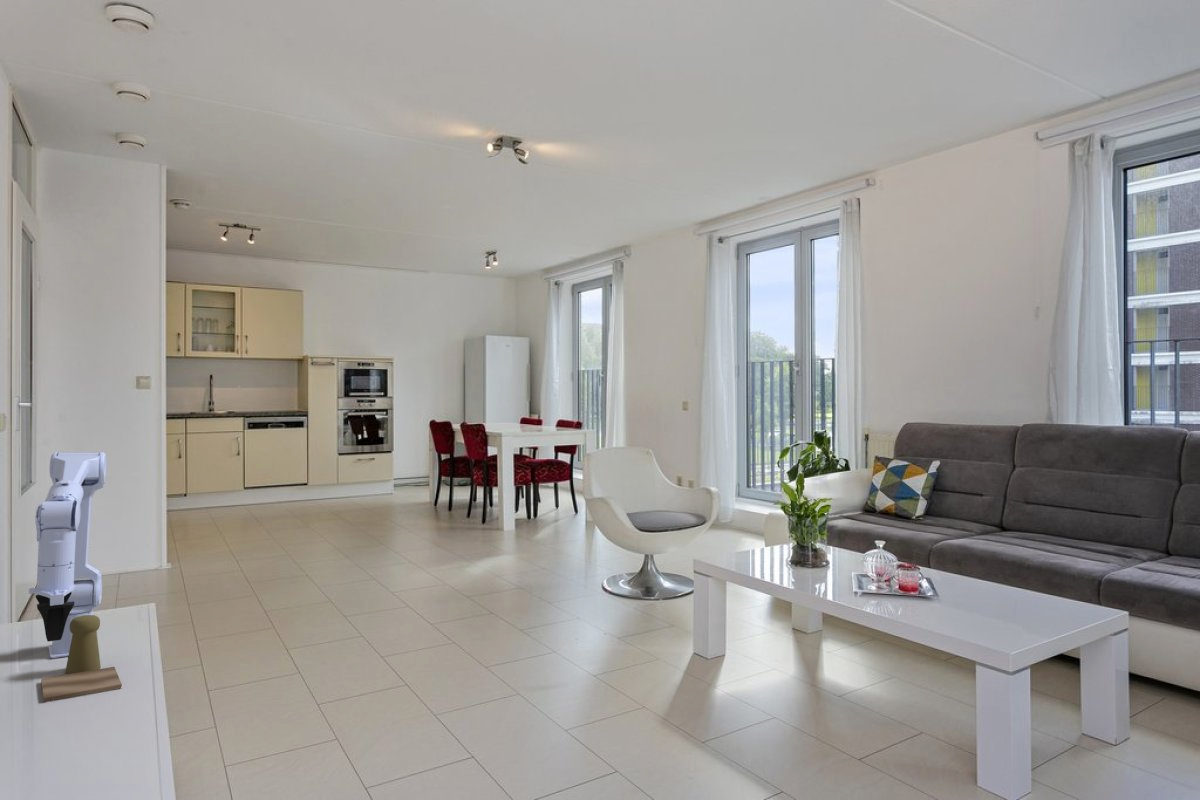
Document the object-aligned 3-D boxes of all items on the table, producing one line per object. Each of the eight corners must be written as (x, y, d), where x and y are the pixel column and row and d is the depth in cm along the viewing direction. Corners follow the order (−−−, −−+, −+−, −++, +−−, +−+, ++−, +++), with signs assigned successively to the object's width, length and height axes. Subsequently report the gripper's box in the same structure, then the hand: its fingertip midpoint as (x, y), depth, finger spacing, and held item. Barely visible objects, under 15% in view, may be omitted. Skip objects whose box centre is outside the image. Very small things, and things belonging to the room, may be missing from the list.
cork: (82, 676, 147) (84, 621, 147) (57, 673, 148) (59, 618, 149) (108, 666, 153) (110, 613, 153) (83, 663, 154) (86, 611, 155)
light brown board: (41, 682, 143) (41, 678, 143) (114, 670, 151) (114, 666, 151) (43, 702, 134) (43, 698, 134) (121, 688, 142) (121, 684, 142)
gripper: (29, 559, 143) (25, 629, 143) (30, 573, 132) (27, 648, 132) (73, 555, 148) (70, 623, 147) (78, 568, 136) (75, 642, 136)
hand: (53, 635), depth 140 cm, fingers open, 7 cm apart
